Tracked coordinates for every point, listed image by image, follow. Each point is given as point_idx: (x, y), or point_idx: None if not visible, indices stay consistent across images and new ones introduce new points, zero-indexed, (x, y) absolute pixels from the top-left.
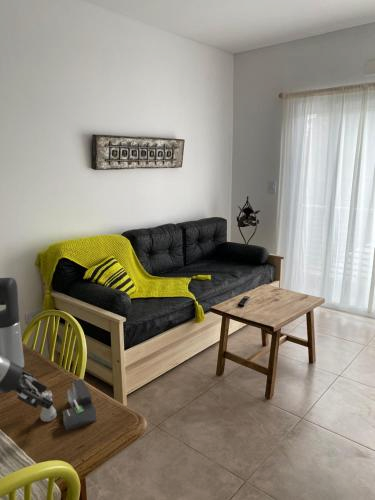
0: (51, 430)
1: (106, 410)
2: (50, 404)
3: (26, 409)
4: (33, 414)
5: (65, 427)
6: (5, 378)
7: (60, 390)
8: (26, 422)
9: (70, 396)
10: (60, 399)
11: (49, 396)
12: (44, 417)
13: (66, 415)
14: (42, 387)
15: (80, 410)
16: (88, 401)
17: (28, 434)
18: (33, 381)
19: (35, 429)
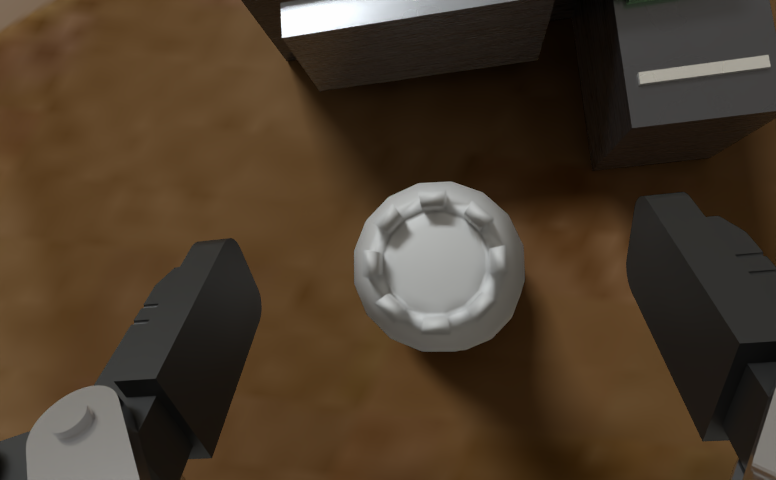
0: None
1: None
2: (732, 229)
3: (250, 447)
4: (348, 398)
5: (670, 160)
6: None
7: (119, 149)
8: (437, 469)
9: (428, 13)
10: (242, 162)
11: (497, 224)
12: (507, 319)
13: (738, 94)
14: (224, 297)
15: None
16: None
17: (622, 474)
18: (144, 471)
19: (574, 407)
